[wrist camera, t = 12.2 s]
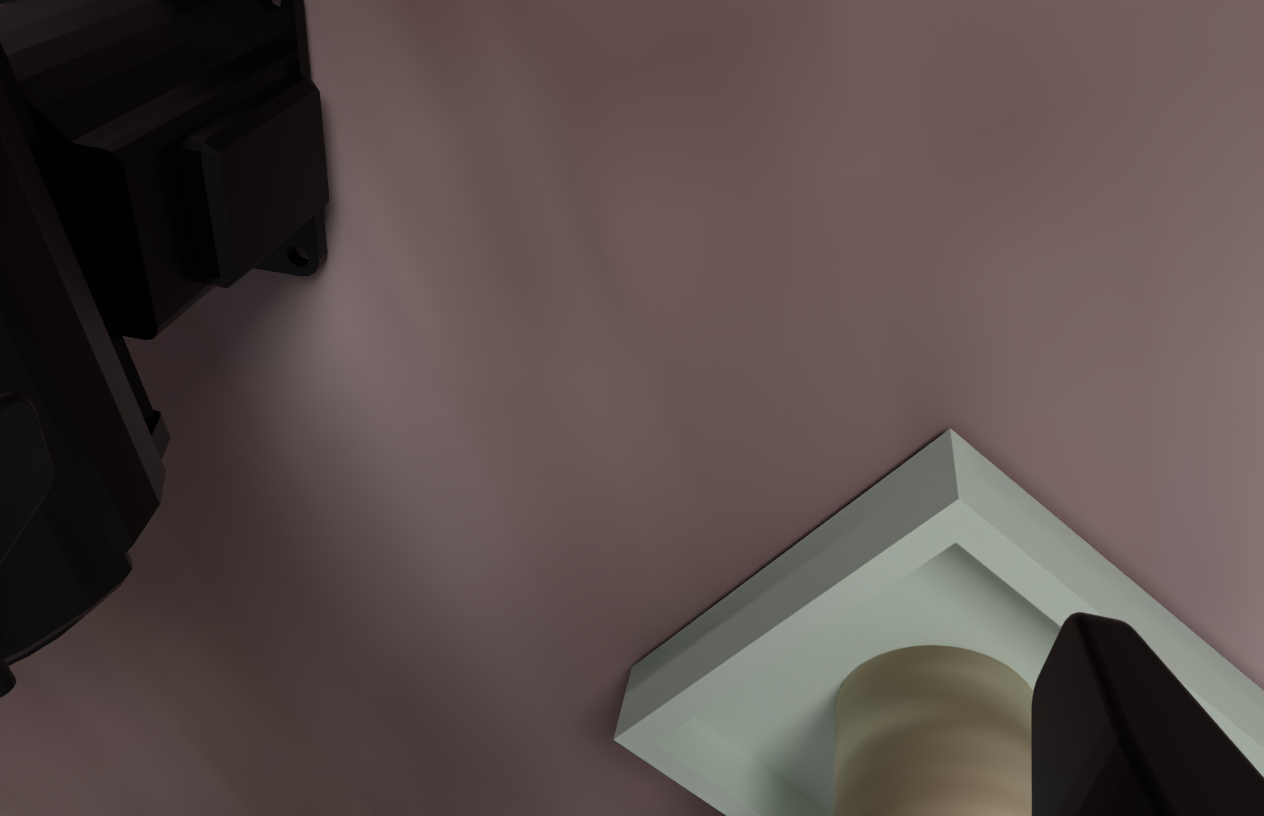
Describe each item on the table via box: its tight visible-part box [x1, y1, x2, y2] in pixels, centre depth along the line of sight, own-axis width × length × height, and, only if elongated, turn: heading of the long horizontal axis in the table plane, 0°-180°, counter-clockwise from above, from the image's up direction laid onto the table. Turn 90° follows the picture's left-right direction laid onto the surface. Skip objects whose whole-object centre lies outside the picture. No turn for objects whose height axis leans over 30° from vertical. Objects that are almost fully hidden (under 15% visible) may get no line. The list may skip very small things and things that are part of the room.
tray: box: [613, 429, 1264, 816], centre depth 26 cm, size 12×12×2 cm
